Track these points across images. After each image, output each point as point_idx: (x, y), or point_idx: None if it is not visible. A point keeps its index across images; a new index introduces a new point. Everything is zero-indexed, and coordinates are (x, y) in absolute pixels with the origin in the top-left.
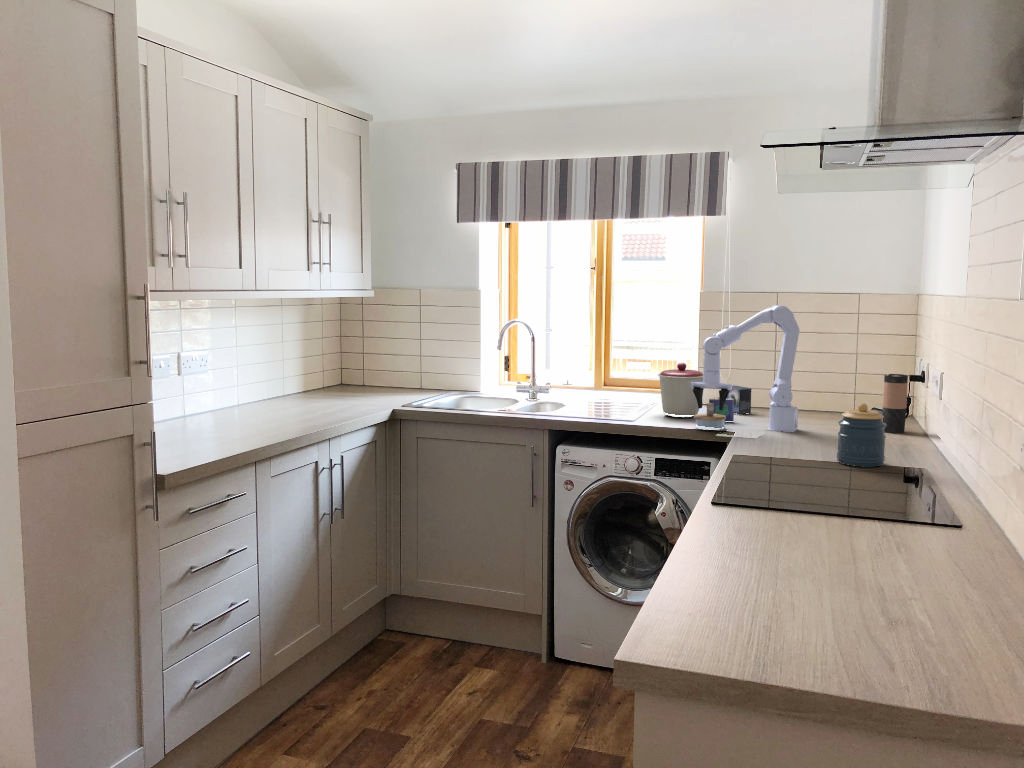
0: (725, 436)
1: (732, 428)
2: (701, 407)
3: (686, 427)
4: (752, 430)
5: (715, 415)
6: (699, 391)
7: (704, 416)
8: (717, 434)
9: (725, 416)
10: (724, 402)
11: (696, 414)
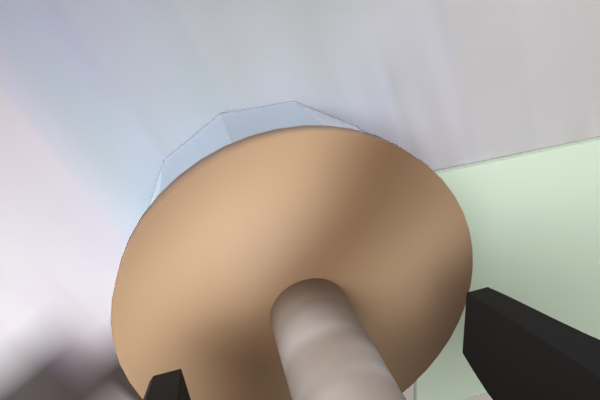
0: (475, 395)
1: (426, 61)
2: (187, 398)
3: (56, 296)
4: (591, 47)
5: (347, 244)
6: None
7: (276, 376)
8: (420, 387)
9: (464, 230)
10: (587, 342)
11: (120, 338)
